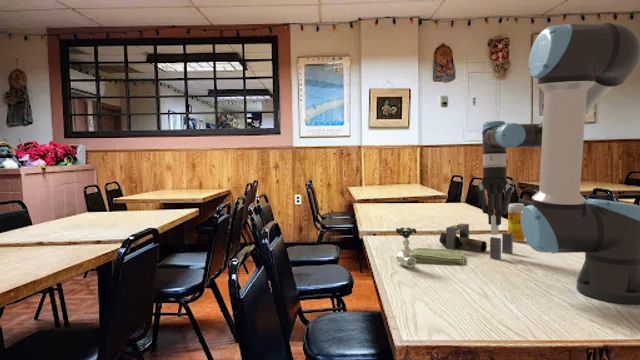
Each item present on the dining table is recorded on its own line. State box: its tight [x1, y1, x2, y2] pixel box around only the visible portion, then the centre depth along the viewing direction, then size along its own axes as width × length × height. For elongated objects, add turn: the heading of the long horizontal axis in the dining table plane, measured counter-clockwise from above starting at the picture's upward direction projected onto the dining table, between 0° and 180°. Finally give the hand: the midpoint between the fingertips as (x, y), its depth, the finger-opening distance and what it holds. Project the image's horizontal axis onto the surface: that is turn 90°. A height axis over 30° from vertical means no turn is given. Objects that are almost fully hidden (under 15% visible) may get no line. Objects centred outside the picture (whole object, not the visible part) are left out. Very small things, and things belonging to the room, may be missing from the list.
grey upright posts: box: [445, 223, 514, 261], centre depth 145 cm, size 12×19×9 cm, turn 45°
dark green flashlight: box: [439, 233, 488, 253], centre depth 152 cm, size 18×7×6 cm, turn 41°
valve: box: [395, 227, 417, 269], centre depth 129 cm, size 7×7×12 cm
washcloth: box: [410, 247, 465, 266], centre depth 137 cm, size 13×18×3 cm
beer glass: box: [507, 202, 526, 243], centre depth 163 cm, size 6×6×15 cm
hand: (494, 234), depth 141 cm, fingers closed
